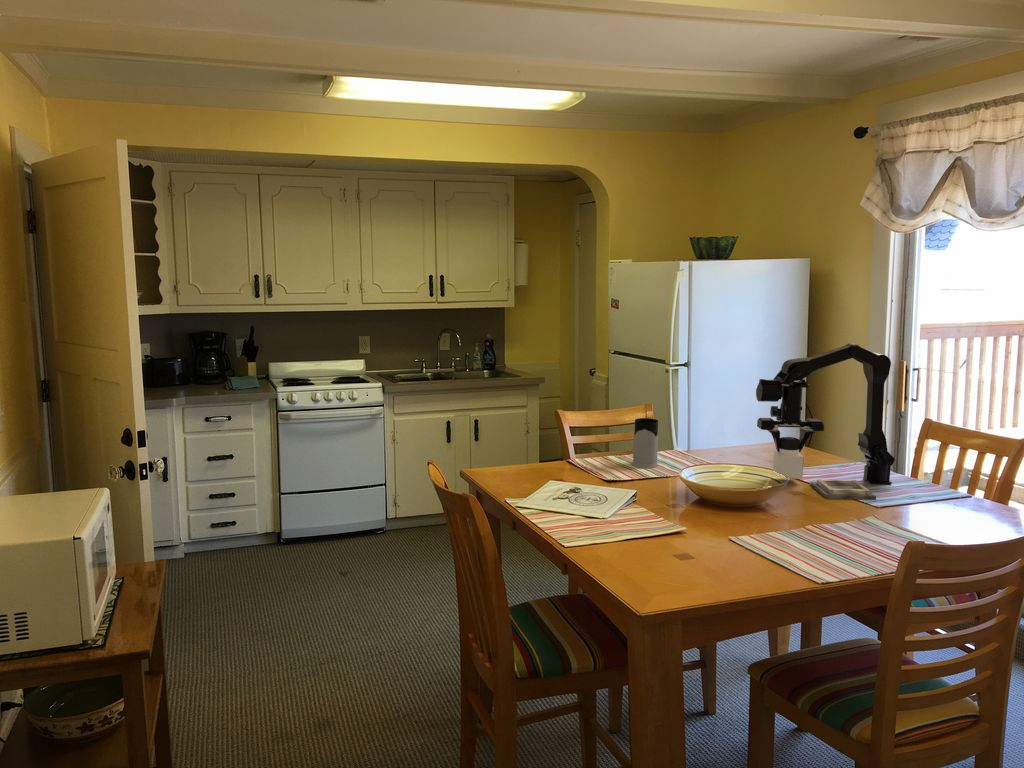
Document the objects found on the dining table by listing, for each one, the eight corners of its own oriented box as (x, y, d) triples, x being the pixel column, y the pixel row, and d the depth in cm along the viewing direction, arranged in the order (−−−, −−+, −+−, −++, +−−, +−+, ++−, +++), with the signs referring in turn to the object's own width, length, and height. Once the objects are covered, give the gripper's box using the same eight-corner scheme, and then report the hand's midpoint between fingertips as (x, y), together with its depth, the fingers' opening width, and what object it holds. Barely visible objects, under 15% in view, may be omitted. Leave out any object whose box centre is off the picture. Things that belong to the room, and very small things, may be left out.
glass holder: (629, 467, 268) (631, 421, 266) (636, 457, 282) (637, 414, 280) (656, 469, 266) (658, 423, 264) (661, 459, 279) (663, 415, 277)
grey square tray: (857, 486, 248) (858, 479, 248) (875, 499, 234) (876, 492, 234) (810, 485, 249) (811, 478, 249) (825, 498, 235) (826, 490, 235)
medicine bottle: (802, 479, 249) (805, 440, 248) (778, 478, 249) (781, 440, 248) (795, 473, 256) (797, 435, 255) (772, 472, 257) (774, 435, 255)
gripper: (814, 397, 257) (811, 446, 259) (754, 396, 258) (751, 445, 260) (826, 404, 246) (822, 454, 248) (763, 402, 247) (760, 453, 249)
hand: (788, 451), depth 252 cm, fingers closed on medicine bottle, 6 cm apart
